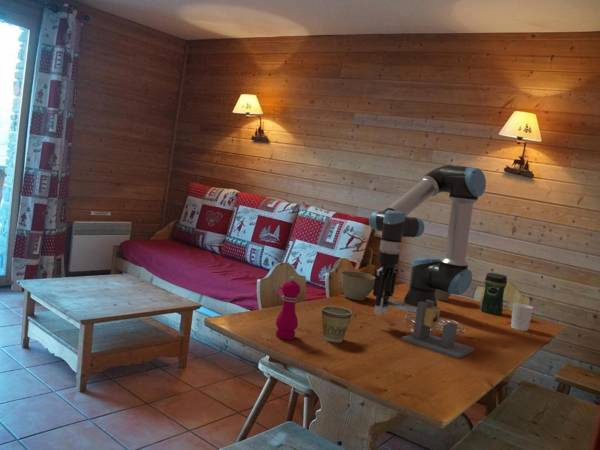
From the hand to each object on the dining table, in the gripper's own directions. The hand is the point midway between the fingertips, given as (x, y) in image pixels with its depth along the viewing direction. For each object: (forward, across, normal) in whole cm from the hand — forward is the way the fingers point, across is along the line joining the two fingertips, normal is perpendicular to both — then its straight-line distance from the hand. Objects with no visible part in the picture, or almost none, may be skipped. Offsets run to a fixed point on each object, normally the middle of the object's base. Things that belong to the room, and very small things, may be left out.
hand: (380, 313), depth 199 cm
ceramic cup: (+5, -28, 0) cm, 29 cm away
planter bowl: (+5, +31, +30) cm, 44 cm away
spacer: (-1, 0, -20) cm, 20 cm away
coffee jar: (+5, +76, -17) cm, 78 cm away
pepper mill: (+5, -42, +11) cm, 44 cm away
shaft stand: (+5, 0, -24) cm, 24 cm away
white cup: (+5, +59, -35) cm, 68 cm away
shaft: (-3, 0, -10) cm, 10 cm away
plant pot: (+5, +76, +9) cm, 77 cm away
